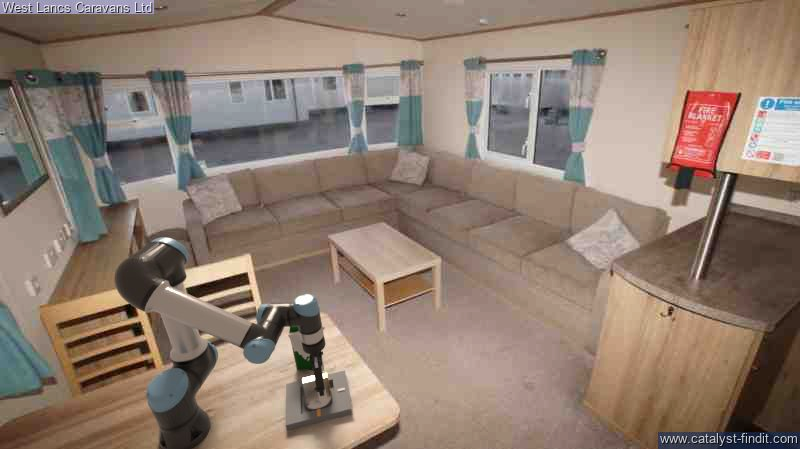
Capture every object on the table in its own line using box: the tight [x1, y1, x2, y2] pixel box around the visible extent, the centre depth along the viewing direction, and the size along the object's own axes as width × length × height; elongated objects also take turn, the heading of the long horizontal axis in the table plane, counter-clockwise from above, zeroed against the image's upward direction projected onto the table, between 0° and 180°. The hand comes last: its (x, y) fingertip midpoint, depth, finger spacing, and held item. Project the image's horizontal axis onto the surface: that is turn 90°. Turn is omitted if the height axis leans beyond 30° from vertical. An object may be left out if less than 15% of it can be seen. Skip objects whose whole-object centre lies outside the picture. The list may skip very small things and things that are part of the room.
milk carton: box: [288, 326, 313, 371], centre depth 150 cm, size 9×9×20 cm
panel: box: [285, 370, 353, 431], centre depth 136 cm, size 22×18×3 cm
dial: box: [301, 371, 332, 411], centre depth 134 cm, size 10×10×10 cm
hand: (321, 384), depth 134 cm, fingers open, 13 cm apart
